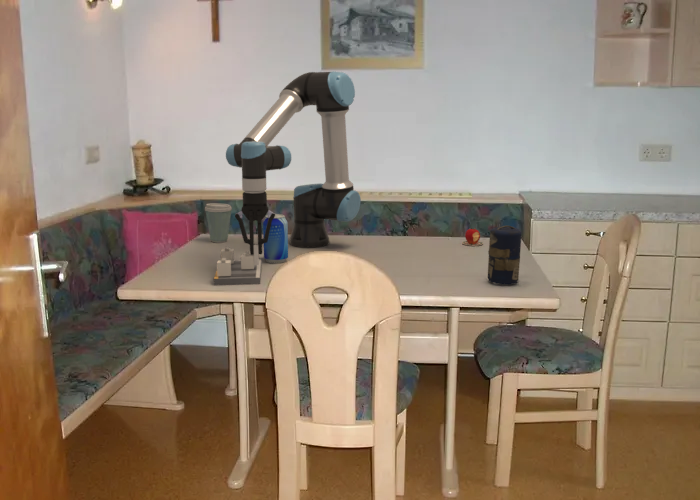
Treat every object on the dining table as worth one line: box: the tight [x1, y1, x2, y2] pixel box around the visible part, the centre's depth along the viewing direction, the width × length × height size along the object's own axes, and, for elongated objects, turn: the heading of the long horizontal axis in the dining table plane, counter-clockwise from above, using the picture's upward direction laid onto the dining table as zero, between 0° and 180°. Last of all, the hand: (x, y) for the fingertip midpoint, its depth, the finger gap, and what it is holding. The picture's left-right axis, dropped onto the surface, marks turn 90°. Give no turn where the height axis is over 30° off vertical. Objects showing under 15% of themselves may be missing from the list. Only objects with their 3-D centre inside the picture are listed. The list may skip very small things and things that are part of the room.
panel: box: [213, 246, 262, 286], centre depth 222 cm, size 14×23×7 cm, turn 6°
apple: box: [461, 228, 484, 247], centre depth 269 cm, size 8×8×6 cm
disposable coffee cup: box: [204, 203, 233, 244], centre depth 272 cm, size 11×11×15 cm
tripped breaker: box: [240, 251, 254, 269], centre depth 222 cm, size 4×4×5 cm
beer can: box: [262, 213, 289, 264], centre depth 240 cm, size 8×8×16 cm
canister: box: [487, 225, 522, 286], centre depth 213 cm, size 10×10×18 cm
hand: (256, 264), depth 223 cm, fingers closed
